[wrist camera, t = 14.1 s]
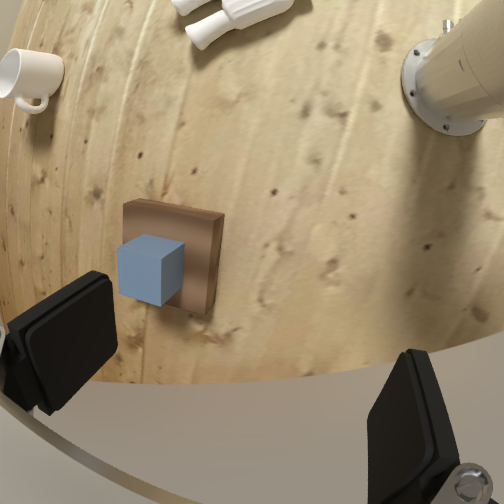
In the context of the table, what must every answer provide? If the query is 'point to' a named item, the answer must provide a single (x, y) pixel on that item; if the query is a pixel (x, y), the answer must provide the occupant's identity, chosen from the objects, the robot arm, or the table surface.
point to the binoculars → (228, 17)
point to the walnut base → (195, 250)
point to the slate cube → (150, 268)
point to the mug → (30, 77)
